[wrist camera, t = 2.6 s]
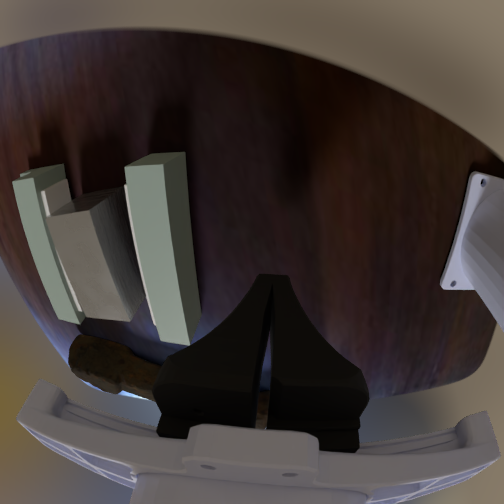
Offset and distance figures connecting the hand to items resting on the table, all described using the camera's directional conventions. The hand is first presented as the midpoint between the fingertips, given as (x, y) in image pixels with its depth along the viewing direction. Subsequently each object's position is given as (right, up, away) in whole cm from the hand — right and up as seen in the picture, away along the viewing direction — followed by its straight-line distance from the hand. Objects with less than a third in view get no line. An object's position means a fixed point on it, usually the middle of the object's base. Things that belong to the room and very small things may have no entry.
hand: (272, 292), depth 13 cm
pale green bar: (-14, +3, +5) cm, 15 cm away
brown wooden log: (-8, -9, +11) cm, 17 cm away
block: (-10, +3, +5) cm, 11 cm away
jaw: (-5, +2, +4) cm, 7 cm away
